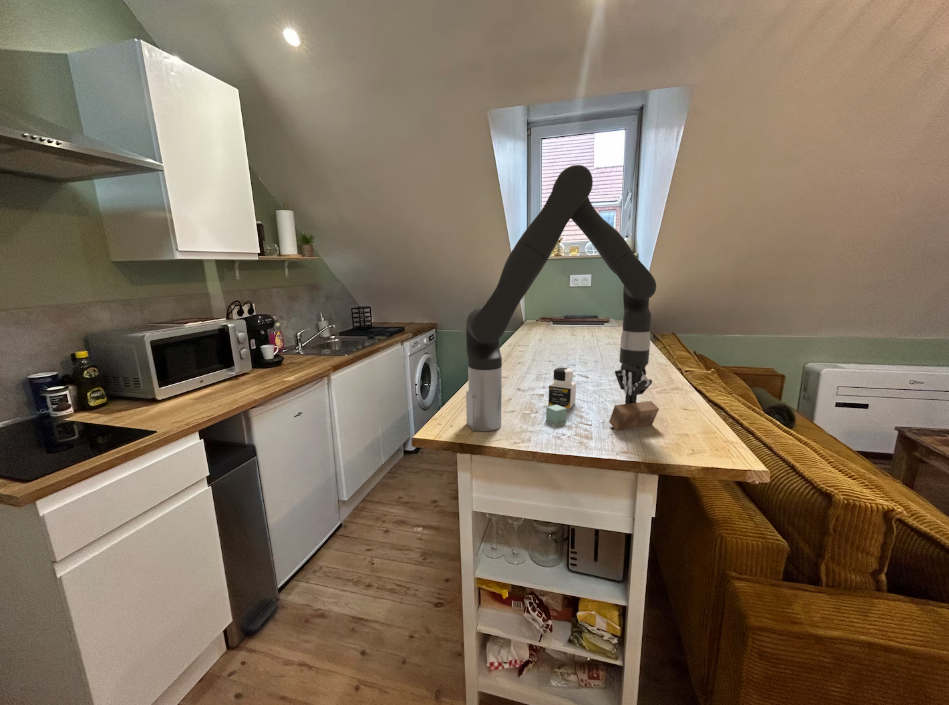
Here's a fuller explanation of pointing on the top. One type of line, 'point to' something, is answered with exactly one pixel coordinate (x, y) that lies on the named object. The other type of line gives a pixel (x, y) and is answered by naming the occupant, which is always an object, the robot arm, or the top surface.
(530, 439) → the top surface
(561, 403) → the medicine bottle
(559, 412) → the pale green block
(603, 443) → the top surface
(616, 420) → the walnut block
